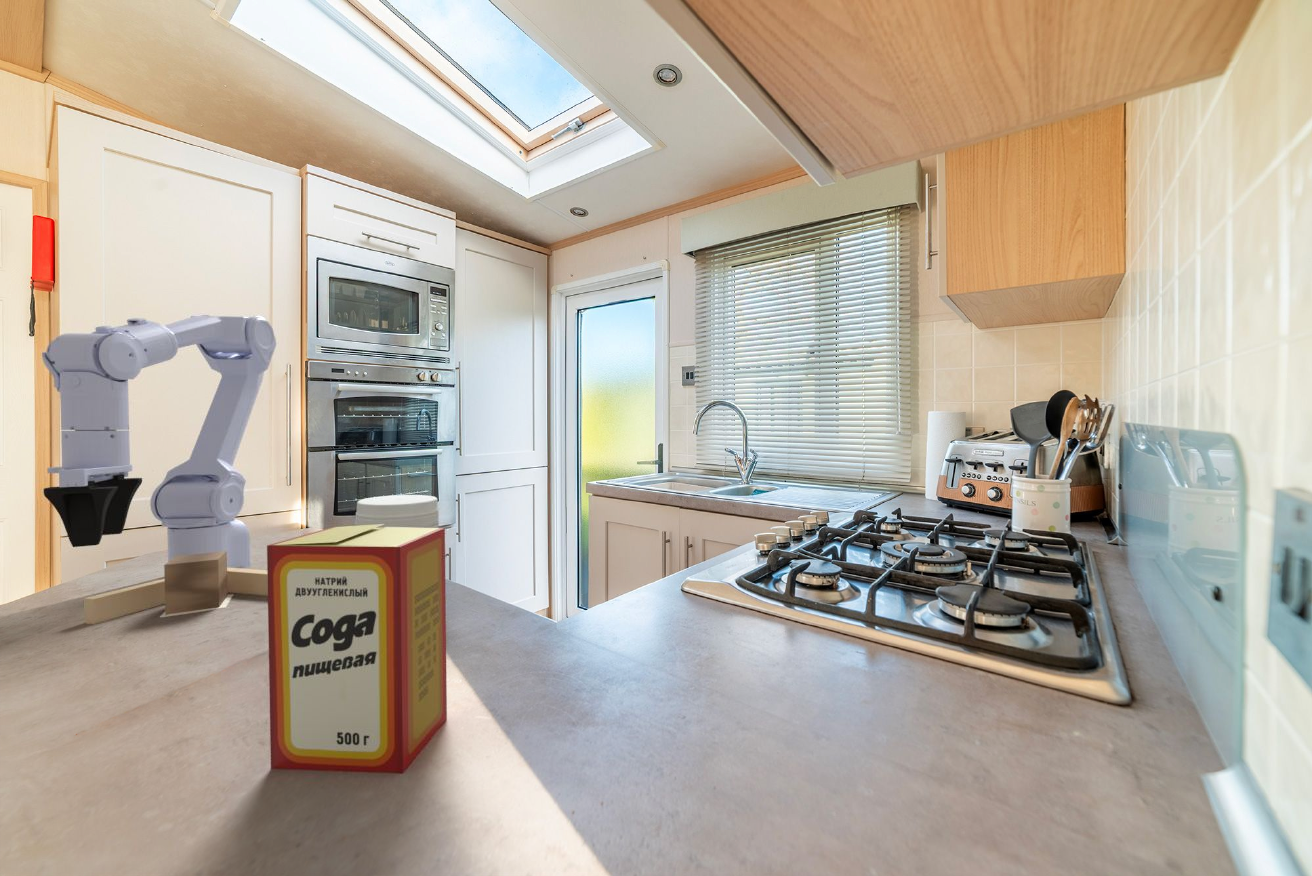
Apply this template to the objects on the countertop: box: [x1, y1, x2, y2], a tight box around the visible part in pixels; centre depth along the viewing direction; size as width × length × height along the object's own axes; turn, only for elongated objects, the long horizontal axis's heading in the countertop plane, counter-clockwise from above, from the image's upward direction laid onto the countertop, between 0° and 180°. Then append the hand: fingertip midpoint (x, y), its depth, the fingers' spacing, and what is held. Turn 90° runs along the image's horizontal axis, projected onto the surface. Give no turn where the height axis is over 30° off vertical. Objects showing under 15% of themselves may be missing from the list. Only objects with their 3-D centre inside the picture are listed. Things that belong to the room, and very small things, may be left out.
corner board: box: [83, 567, 268, 625], centre depth 64 cm, size 14×19×4 cm
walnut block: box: [163, 551, 229, 615], centre depth 65 cm, size 5×5×6 cm
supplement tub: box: [354, 494, 440, 528], centre depth 66 cm, size 10×10×15 cm
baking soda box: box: [266, 524, 448, 774], centre depth 39 cm, size 10×6×16 cm
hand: (98, 539), depth 64 cm, fingers open, 7 cm apart
